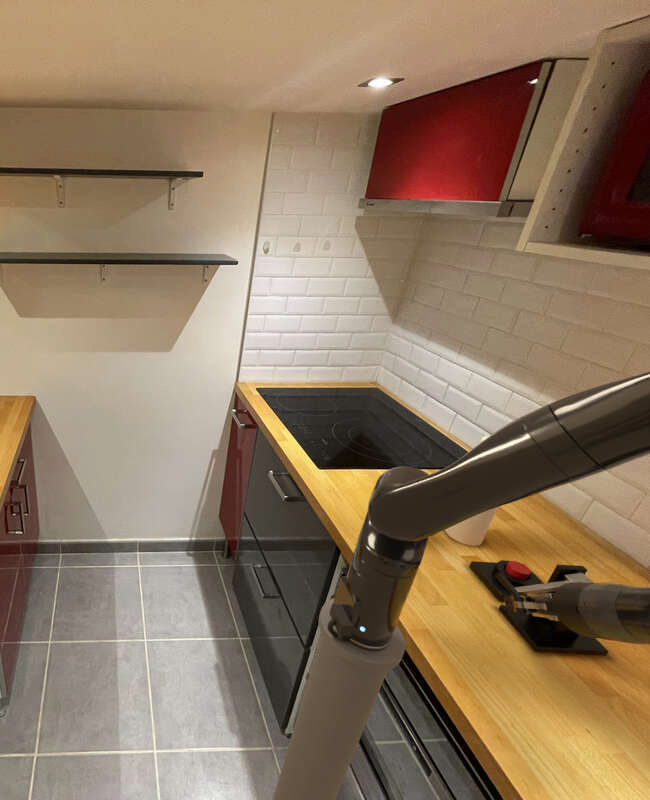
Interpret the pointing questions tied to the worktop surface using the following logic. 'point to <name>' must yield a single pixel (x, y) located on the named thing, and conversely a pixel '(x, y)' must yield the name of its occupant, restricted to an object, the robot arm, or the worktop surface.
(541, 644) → the lever bracket
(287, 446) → the worktop surface
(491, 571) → the block
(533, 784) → the worktop surface
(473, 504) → the robot arm
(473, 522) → the cylindrical container
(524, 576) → the button
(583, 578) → the lever
